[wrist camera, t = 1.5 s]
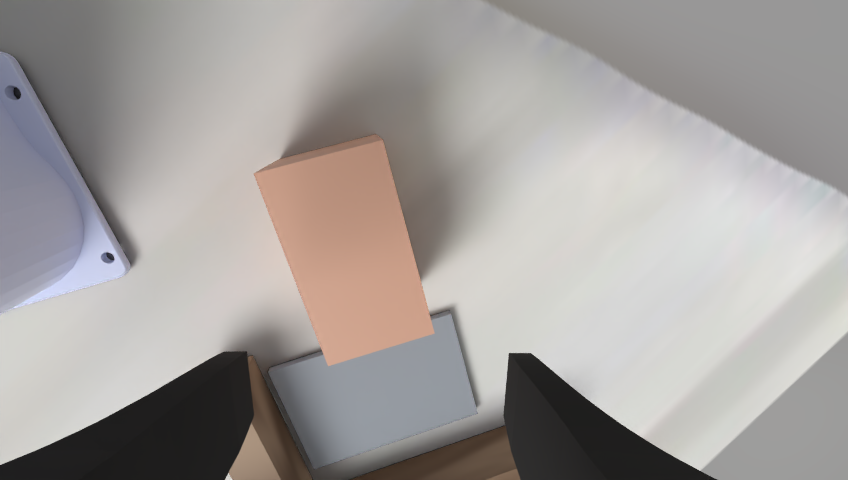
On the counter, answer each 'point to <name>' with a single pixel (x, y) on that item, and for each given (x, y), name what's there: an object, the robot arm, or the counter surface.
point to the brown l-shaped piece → (419, 476)
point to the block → (347, 247)
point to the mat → (375, 394)
